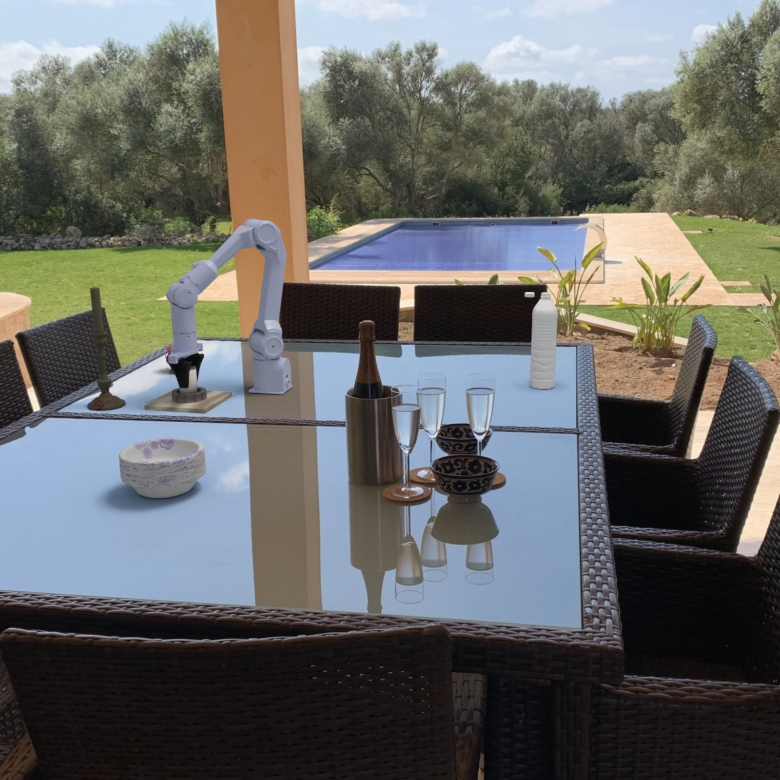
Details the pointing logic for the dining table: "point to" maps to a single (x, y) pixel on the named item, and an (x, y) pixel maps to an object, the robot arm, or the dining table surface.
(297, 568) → the dining table surface
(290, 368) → the robot arm
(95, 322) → the candlestick holder
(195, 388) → the grey capped cylinder
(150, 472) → the paper bowls
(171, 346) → the flower
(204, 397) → the tan square tray
